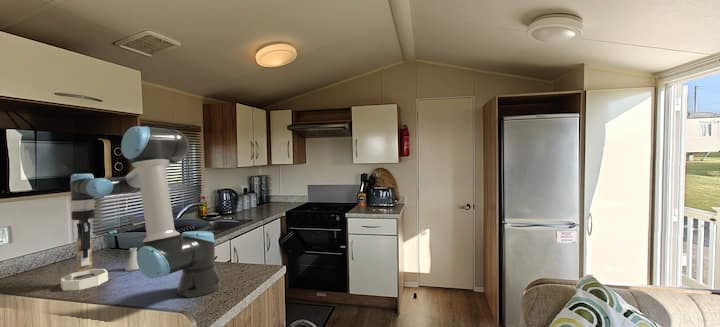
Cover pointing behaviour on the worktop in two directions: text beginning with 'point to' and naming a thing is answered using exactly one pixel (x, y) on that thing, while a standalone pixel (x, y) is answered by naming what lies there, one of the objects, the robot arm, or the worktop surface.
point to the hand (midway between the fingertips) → (84, 264)
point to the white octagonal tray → (84, 279)
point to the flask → (132, 260)
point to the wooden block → (79, 267)
